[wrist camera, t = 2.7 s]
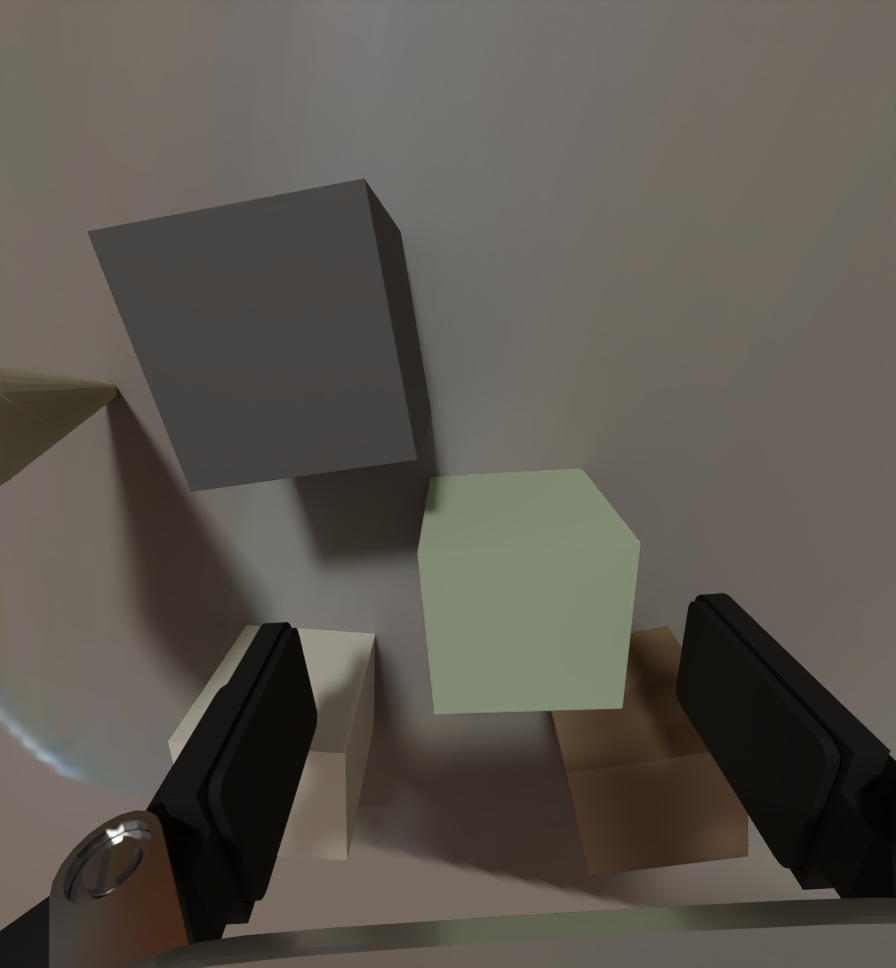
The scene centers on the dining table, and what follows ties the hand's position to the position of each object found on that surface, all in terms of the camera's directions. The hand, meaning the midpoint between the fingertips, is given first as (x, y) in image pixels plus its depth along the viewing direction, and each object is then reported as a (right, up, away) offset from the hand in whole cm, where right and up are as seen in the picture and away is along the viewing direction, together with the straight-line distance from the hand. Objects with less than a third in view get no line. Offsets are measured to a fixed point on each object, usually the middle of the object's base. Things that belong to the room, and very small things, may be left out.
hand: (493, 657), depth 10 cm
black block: (-4, +8, +3) cm, 10 cm away
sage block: (+1, +2, +5) cm, 6 cm away
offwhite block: (-7, -4, +7) cm, 11 cm away
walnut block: (+5, -4, +7) cm, 10 cm away
